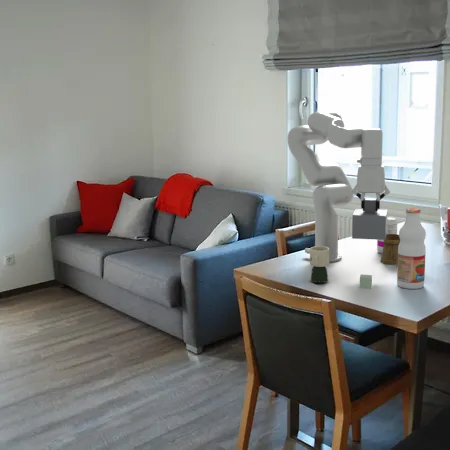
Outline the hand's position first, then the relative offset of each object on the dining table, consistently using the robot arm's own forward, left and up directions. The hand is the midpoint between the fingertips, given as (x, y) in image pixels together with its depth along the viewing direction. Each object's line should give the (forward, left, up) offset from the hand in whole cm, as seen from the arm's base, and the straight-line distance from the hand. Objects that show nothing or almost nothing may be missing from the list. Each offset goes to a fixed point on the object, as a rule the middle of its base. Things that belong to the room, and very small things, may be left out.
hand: (370, 210), depth 228 cm
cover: (0, 0, -10) cm, 10 cm away
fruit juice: (+15, -11, -25) cm, 32 cm away
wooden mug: (+10, +19, -25) cm, 33 cm away
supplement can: (+5, +35, -25) cm, 43 cm away
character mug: (-17, -14, -25) cm, 33 cm away
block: (0, -16, -25) cm, 30 cm away
